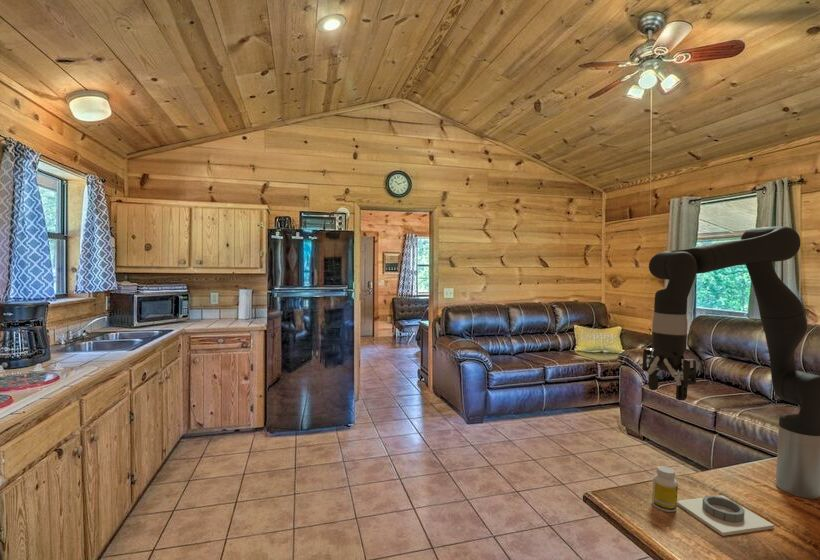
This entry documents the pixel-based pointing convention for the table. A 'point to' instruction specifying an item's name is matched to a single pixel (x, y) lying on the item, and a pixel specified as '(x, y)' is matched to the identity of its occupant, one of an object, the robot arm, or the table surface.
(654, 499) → the supplement bottle
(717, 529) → the socket plate
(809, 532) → the table surface
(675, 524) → the table surface
